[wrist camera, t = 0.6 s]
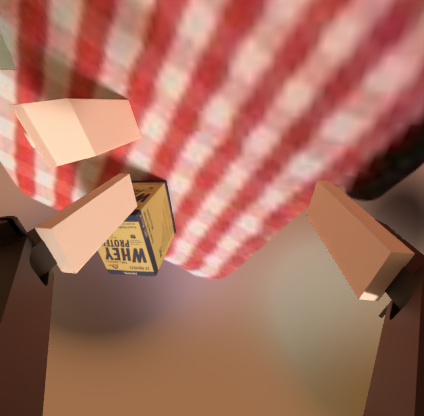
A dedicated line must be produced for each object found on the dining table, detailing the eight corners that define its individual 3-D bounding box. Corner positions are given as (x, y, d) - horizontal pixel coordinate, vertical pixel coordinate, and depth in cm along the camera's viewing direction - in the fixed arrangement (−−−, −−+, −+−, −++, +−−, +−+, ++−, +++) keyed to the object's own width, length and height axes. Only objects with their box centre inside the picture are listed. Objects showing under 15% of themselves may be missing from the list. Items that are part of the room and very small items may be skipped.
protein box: (166, 179, 43) (136, 214, 29) (176, 231, 50) (156, 278, 37) (125, 179, 44) (77, 213, 31) (141, 231, 52) (109, 276, 38)
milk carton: (128, 99, 35) (37, 97, 19) (142, 137, 38) (74, 164, 22) (96, 106, 36) (-16, 110, 20) (112, 143, 40) (27, 172, 23)
